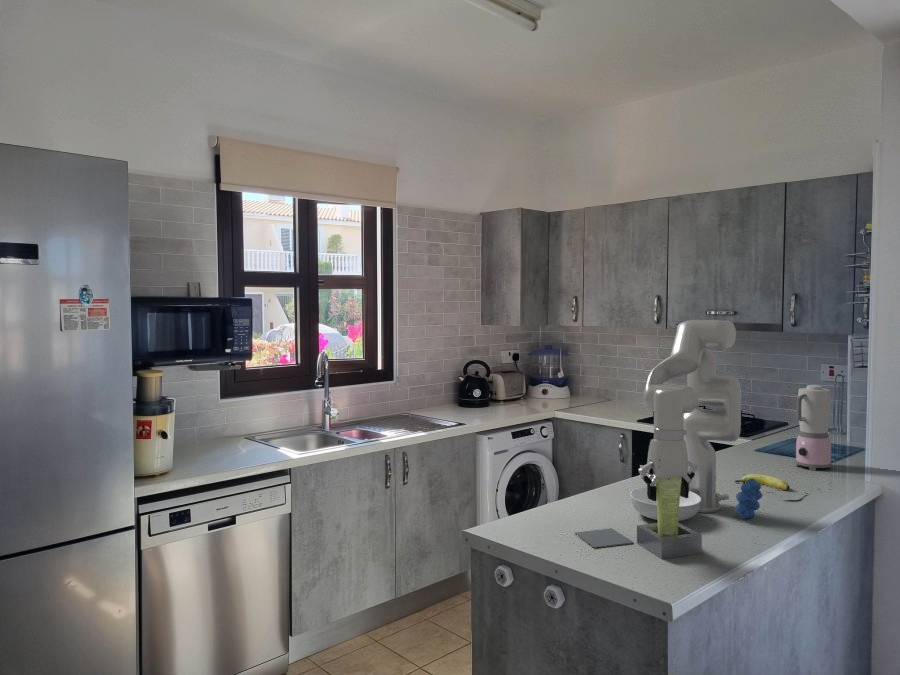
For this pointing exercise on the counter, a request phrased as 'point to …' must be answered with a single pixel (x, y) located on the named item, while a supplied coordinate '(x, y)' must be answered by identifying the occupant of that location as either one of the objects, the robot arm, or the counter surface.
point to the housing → (669, 541)
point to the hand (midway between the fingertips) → (668, 498)
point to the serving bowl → (649, 507)
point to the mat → (604, 538)
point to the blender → (813, 427)
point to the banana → (767, 481)
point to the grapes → (748, 499)
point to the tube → (668, 505)
